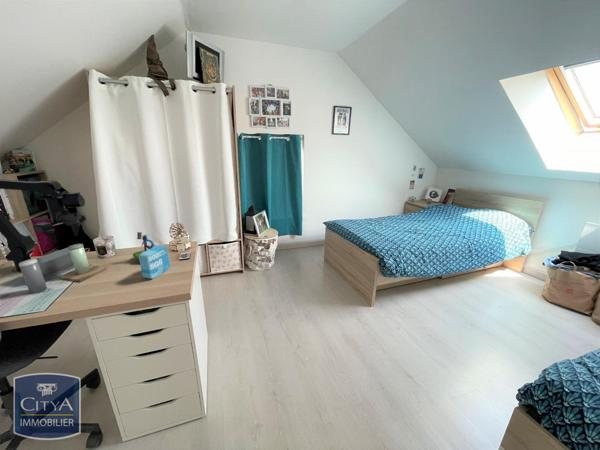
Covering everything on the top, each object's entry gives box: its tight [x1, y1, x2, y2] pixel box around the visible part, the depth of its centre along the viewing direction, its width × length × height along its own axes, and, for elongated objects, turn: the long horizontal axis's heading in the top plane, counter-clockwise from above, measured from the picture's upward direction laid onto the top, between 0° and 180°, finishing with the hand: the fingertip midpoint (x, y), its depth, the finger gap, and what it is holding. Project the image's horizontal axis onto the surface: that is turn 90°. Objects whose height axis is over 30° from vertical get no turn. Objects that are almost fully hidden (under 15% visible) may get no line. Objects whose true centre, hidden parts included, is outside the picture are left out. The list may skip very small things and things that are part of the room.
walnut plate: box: [58, 264, 108, 283], centre depth 114 cm, size 12×12×1 cm
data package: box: [138, 245, 171, 280], centre depth 114 cm, size 12×4×12 cm, turn 167°
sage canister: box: [67, 243, 90, 275], centre depth 112 cm, size 5×5×13 cm
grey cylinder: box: [19, 258, 48, 295], centre depth 99 cm, size 5×5×13 cm
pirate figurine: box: [132, 231, 155, 260], centre depth 128 cm, size 14×13×15 cm
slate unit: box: [35, 247, 75, 282], centre depth 115 cm, size 9×20×8 cm, turn 167°
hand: (66, 239), depth 120 cm, fingers open, 9 cm apart
